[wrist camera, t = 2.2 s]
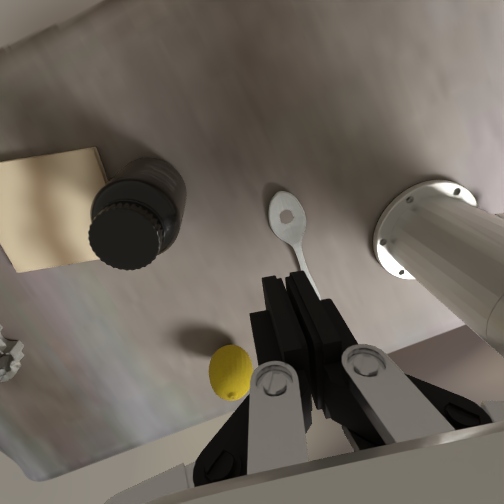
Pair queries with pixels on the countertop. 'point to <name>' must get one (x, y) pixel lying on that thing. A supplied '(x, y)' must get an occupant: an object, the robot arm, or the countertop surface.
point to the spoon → (290, 226)
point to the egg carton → (9, 357)
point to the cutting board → (49, 208)
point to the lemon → (230, 372)
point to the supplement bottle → (137, 214)
